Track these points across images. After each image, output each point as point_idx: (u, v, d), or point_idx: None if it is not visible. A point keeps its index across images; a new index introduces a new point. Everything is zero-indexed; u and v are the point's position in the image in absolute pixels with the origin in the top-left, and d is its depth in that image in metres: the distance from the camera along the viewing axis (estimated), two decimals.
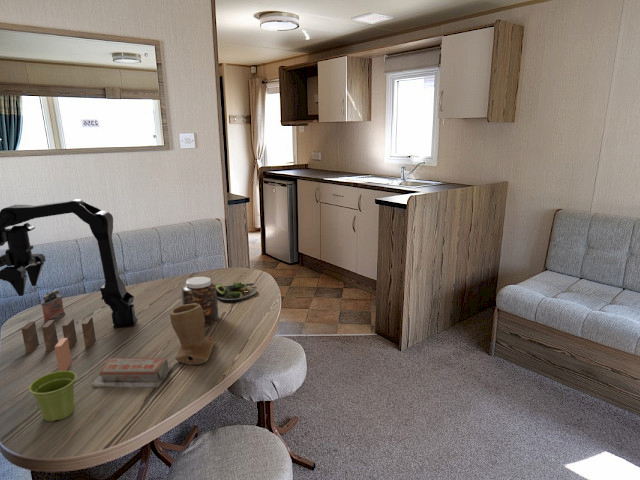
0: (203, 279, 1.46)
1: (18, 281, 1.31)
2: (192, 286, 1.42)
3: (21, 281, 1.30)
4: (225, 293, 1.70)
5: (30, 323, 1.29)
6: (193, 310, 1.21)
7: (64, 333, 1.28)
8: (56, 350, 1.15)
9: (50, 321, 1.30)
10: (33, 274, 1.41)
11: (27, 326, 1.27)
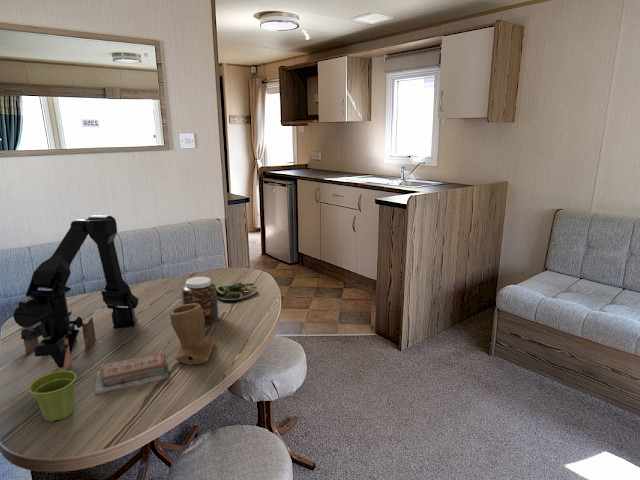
0: (203, 279, 1.46)
1: None
2: (192, 286, 1.42)
3: (62, 352, 1.14)
4: (225, 293, 1.70)
5: None
6: (193, 310, 1.21)
7: None
8: None
9: None
10: None
11: None
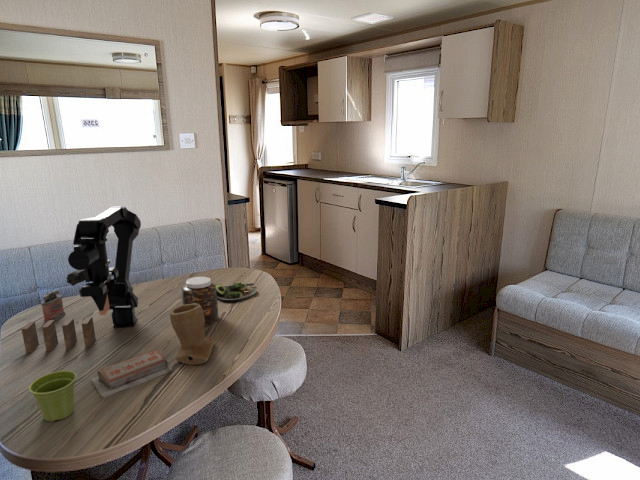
0: (203, 279, 1.46)
1: (100, 295, 1.26)
2: (192, 286, 1.42)
3: (103, 296, 1.26)
4: (225, 293, 1.70)
5: (30, 323, 1.29)
6: (193, 310, 1.21)
7: (64, 333, 1.28)
8: None
9: (50, 321, 1.30)
10: None
11: (27, 326, 1.27)
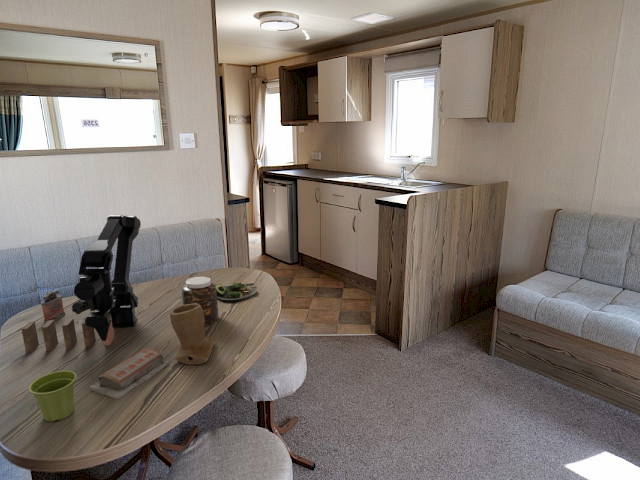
0: (203, 279, 1.46)
1: (102, 326, 1.27)
2: (192, 286, 1.42)
3: (106, 326, 1.26)
4: (225, 293, 1.70)
5: (30, 323, 1.29)
6: (193, 310, 1.21)
7: (64, 333, 1.28)
8: None
9: (50, 321, 1.30)
10: (111, 316, 1.37)
11: (27, 326, 1.27)
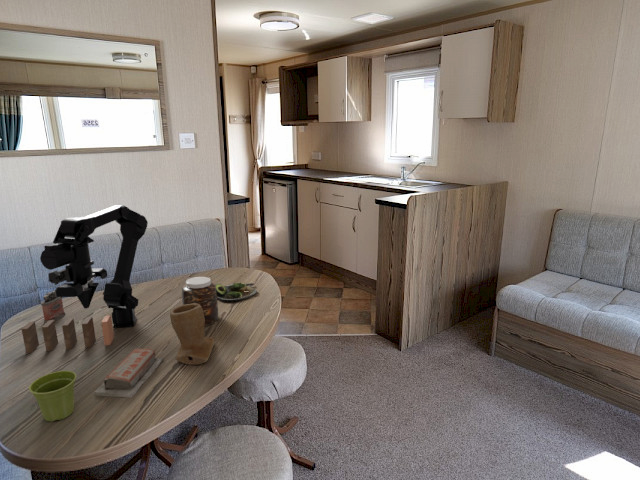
0: (203, 279, 1.46)
1: (83, 293, 1.27)
2: (192, 286, 1.42)
3: (86, 294, 1.27)
4: (225, 293, 1.70)
5: (30, 323, 1.29)
6: (193, 310, 1.21)
7: (64, 333, 1.28)
8: (102, 325, 1.30)
9: (50, 321, 1.30)
10: None
11: (27, 326, 1.27)
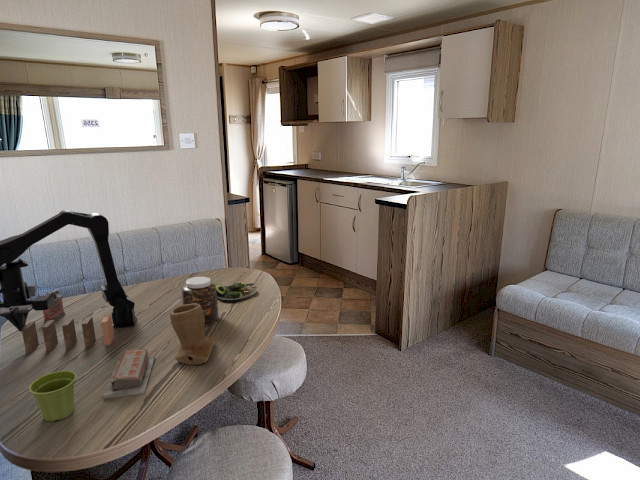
0: (203, 279, 1.46)
1: None
2: (192, 286, 1.42)
3: None
4: (225, 293, 1.70)
5: (30, 323, 1.29)
6: (193, 310, 1.21)
7: (64, 333, 1.28)
8: (102, 325, 1.30)
9: (50, 321, 1.30)
10: None
11: (27, 326, 1.27)
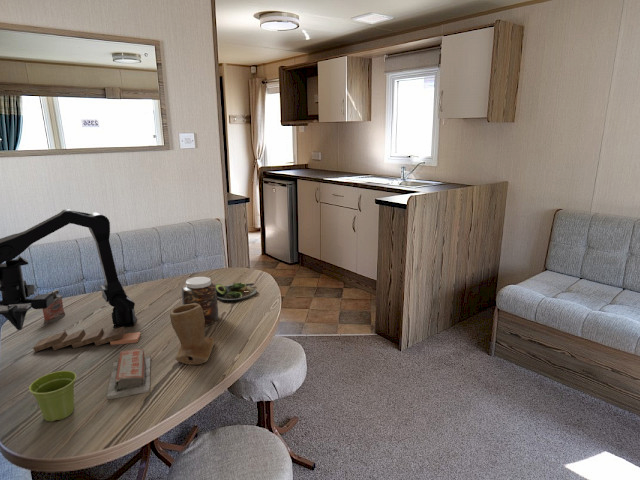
0: (203, 279, 1.46)
1: None
2: (192, 286, 1.42)
3: None
4: (225, 293, 1.70)
5: (65, 335, 1.32)
6: (193, 310, 1.21)
7: (89, 339, 1.30)
8: (133, 340, 1.33)
9: (83, 332, 1.33)
10: None
11: (62, 338, 1.30)
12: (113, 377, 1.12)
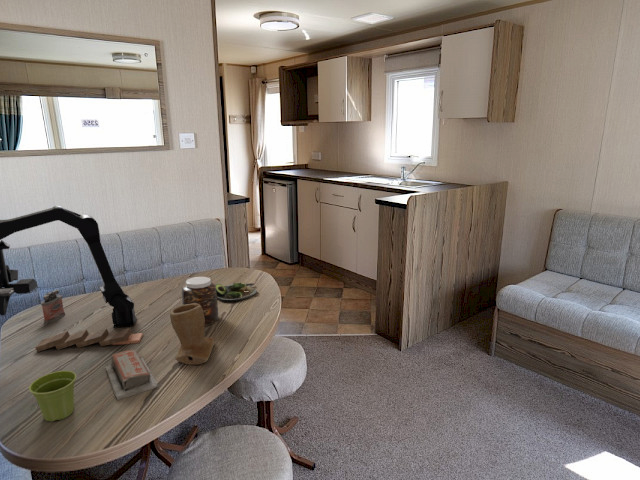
0: (203, 279, 1.46)
1: None
2: (192, 286, 1.42)
3: None
4: (225, 293, 1.70)
5: (67, 335, 1.32)
6: (193, 310, 1.21)
7: (93, 339, 1.30)
8: (135, 341, 1.33)
9: (86, 333, 1.34)
10: None
11: (64, 338, 1.30)
12: (113, 379, 1.11)
